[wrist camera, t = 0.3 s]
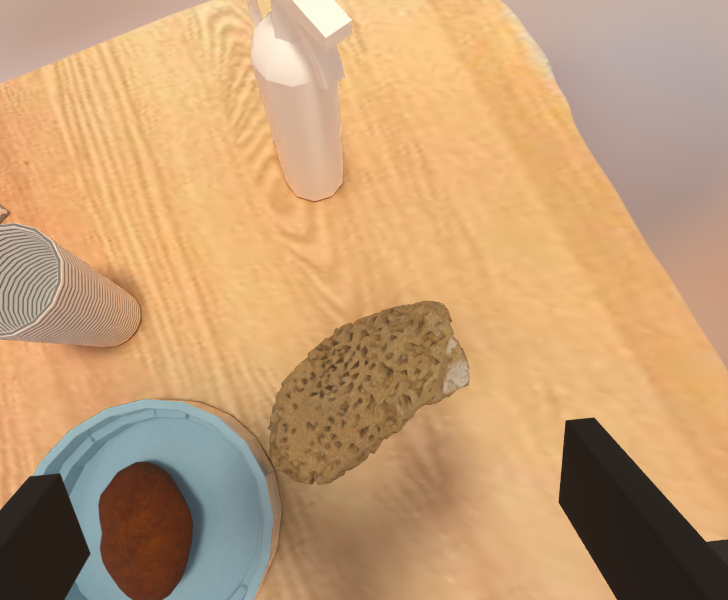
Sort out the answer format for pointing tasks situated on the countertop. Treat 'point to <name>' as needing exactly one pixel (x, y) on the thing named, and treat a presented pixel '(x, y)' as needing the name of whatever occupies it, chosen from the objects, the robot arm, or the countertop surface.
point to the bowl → (196, 482)
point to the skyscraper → (3, 213)
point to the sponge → (363, 389)
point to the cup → (58, 295)
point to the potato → (145, 531)
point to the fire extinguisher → (302, 89)
